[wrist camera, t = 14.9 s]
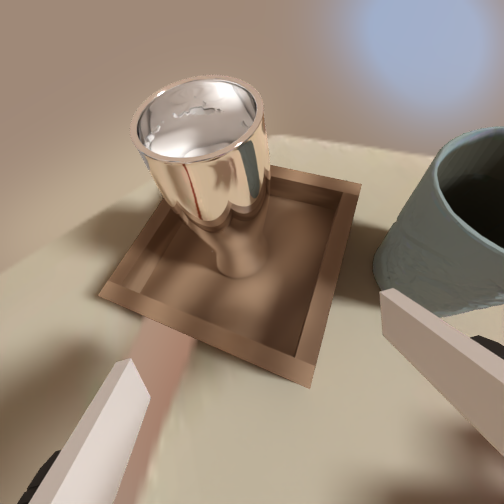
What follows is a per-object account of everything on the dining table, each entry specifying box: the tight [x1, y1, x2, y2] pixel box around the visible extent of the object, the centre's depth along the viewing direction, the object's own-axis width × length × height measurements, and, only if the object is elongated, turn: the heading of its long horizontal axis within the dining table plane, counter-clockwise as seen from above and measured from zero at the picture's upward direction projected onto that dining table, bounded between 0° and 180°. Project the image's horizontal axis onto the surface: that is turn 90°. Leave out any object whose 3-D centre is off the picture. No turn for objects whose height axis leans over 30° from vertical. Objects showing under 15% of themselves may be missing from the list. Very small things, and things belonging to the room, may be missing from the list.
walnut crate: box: [98, 165, 362, 389], centre depth 24 cm, size 19×19×4 cm
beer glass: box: [130, 75, 271, 278], centre depth 18 cm, size 7×7×15 cm
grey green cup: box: [372, 127, 504, 317], centre depth 18 cm, size 10×10×12 cm
